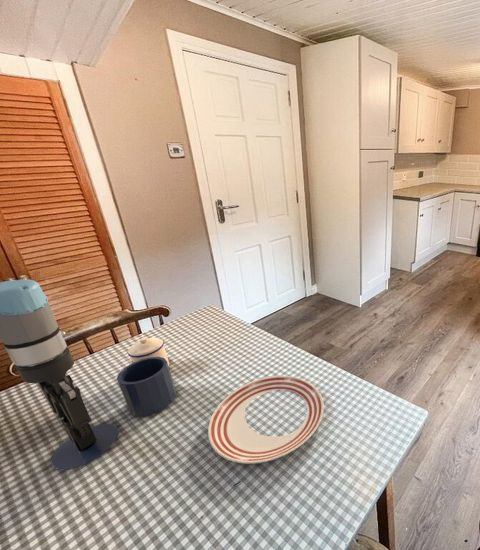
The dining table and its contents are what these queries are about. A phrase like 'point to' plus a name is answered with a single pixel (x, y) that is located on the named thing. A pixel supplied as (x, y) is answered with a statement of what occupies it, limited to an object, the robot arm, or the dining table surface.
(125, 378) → the dark grey canister
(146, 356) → the teacup with lid
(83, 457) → the pot lid
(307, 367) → the dining table surface
